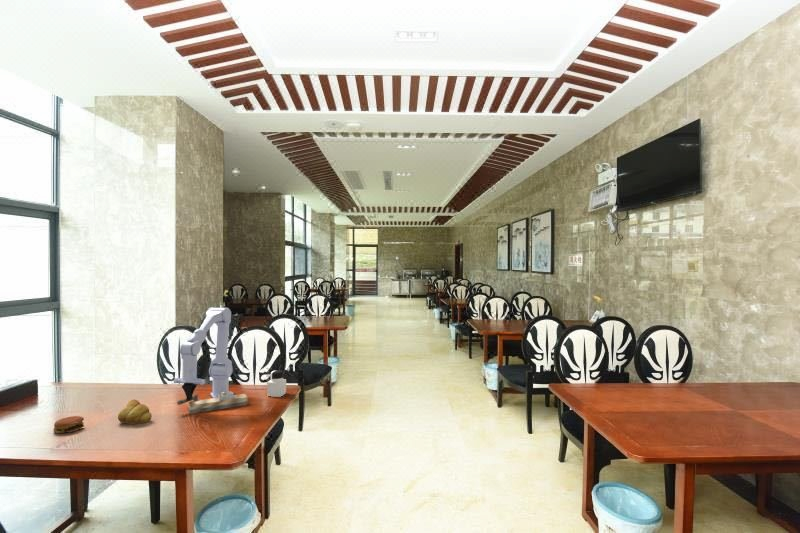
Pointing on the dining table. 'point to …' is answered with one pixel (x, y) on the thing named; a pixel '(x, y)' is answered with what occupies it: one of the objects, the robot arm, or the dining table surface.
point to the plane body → (217, 403)
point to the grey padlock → (276, 384)
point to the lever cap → (225, 395)
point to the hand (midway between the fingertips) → (189, 400)
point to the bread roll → (134, 413)
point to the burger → (68, 424)
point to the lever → (186, 400)
